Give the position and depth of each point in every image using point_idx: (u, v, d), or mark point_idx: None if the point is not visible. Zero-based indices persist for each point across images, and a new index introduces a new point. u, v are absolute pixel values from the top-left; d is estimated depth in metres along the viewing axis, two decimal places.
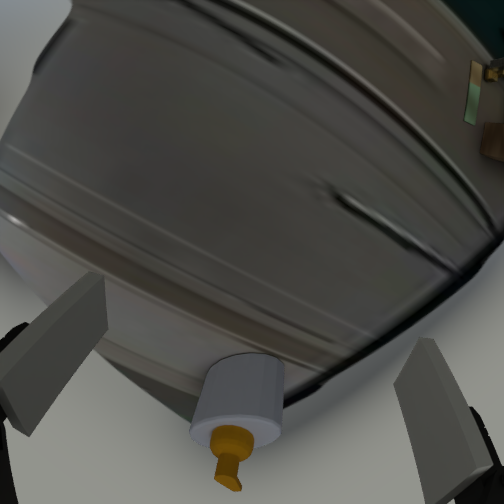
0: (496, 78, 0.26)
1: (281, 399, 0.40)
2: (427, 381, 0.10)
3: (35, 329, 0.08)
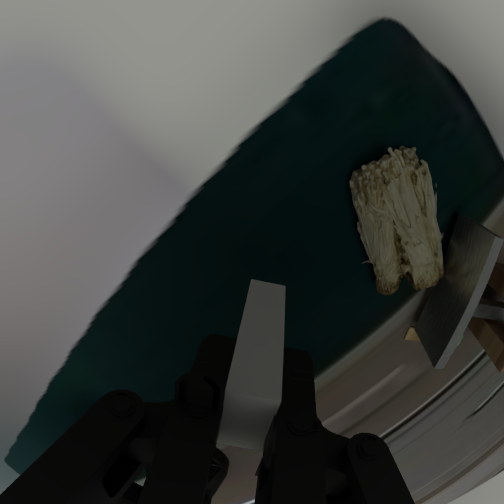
0: None
1: None
2: None
3: (248, 339, 0.10)
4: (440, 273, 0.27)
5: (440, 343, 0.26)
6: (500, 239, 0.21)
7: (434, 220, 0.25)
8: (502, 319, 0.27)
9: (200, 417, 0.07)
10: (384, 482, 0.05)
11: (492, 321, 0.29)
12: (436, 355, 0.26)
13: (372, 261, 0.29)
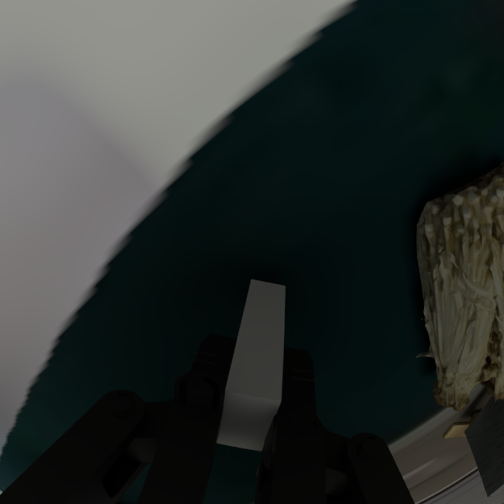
0: None
1: None
2: None
3: (248, 339, 0.10)
4: None
5: (503, 468, 0.12)
6: None
7: None
8: None
9: (200, 417, 0.07)
10: (384, 482, 0.05)
11: None
12: (493, 481, 0.12)
13: (439, 364, 0.14)
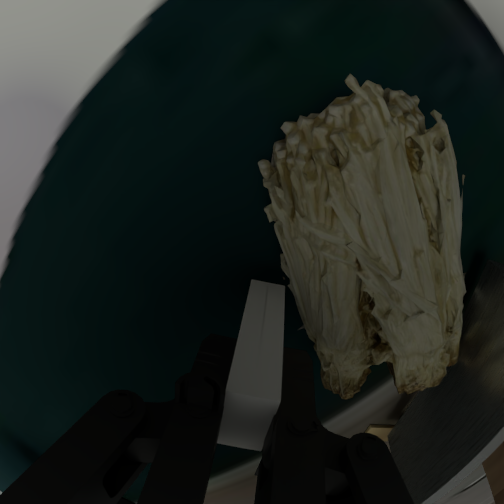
0: None
1: None
2: None
3: (249, 339, 0.10)
4: (451, 359, 0.13)
5: (419, 486, 0.12)
6: None
7: (456, 259, 0.11)
8: None
9: (200, 417, 0.07)
10: (384, 482, 0.05)
11: None
12: None
13: (311, 335, 0.14)
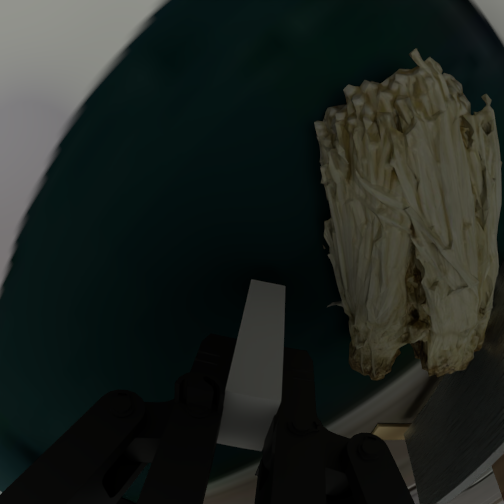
0: None
1: None
2: None
3: (248, 339, 0.10)
4: (477, 344, 0.12)
5: (438, 483, 0.12)
6: None
7: (494, 239, 0.10)
8: None
9: (200, 417, 0.07)
10: (384, 482, 0.05)
11: None
12: (428, 496, 0.12)
13: (348, 310, 0.13)
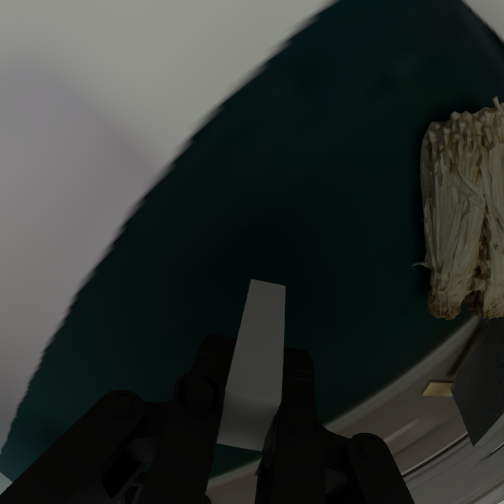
0: None
1: None
2: None
3: (248, 339, 0.10)
4: None
5: (485, 417, 0.16)
6: None
7: None
8: None
9: (200, 417, 0.07)
10: (384, 482, 0.05)
11: None
12: (477, 431, 0.16)
13: (435, 264, 0.17)
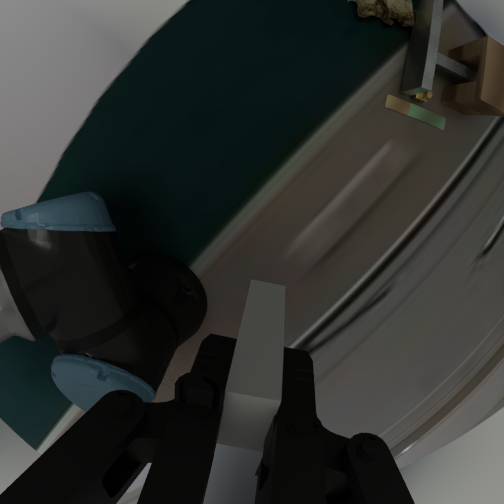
0: None
1: None
2: None
3: (248, 339, 0.10)
4: (411, 15, 0.26)
5: (420, 69, 0.26)
6: None
7: None
8: None
9: (200, 417, 0.07)
10: (384, 482, 0.05)
11: None
12: (420, 79, 0.27)
13: None
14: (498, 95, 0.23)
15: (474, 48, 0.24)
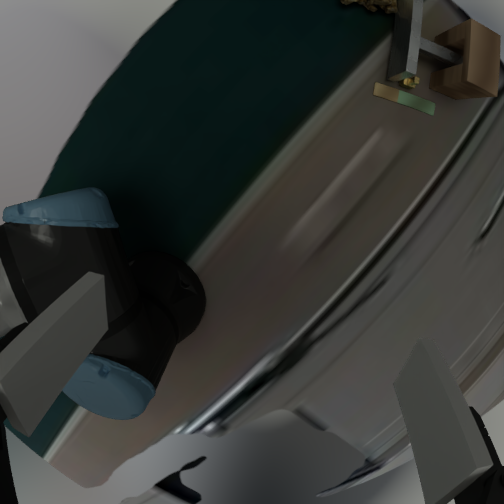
0: None
1: None
2: (427, 381, 0.10)
3: (35, 329, 0.08)
4: (393, 1, 0.27)
5: (404, 54, 0.27)
6: None
7: None
8: None
9: None
10: None
11: None
12: (404, 63, 0.27)
13: None
14: (485, 76, 0.23)
15: (459, 32, 0.24)
